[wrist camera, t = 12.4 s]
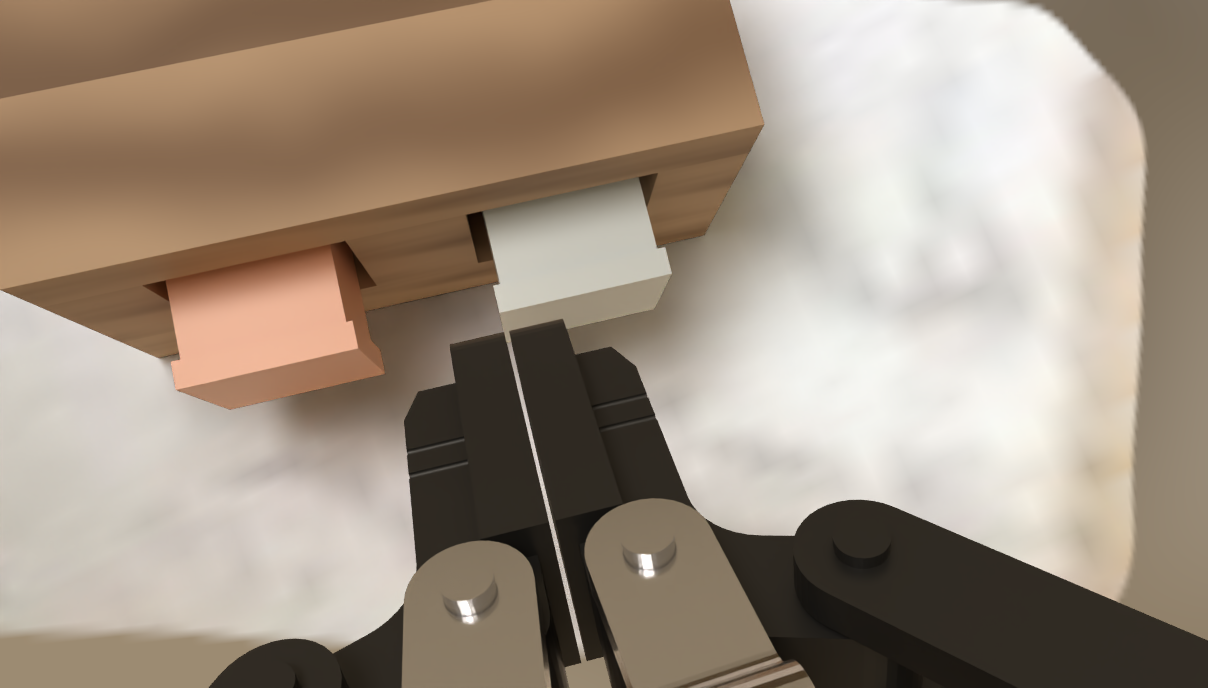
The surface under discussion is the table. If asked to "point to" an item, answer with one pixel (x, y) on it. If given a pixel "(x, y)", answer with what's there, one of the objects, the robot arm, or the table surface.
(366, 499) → the table surface
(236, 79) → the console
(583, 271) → the grey key
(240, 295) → the salmon key
